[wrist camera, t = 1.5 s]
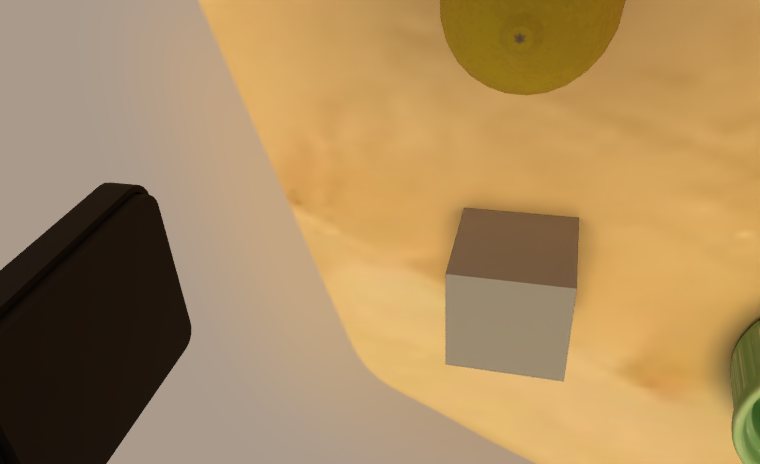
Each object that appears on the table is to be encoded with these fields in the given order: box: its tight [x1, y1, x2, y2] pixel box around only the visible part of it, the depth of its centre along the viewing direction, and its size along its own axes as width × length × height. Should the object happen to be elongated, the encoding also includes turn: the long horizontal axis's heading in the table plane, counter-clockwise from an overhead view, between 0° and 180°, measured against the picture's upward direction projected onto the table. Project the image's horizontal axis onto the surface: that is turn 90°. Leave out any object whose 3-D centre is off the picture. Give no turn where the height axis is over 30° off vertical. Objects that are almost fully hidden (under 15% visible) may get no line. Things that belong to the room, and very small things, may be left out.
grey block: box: [446, 208, 579, 381], centre depth 29 cm, size 5×5×5 cm
